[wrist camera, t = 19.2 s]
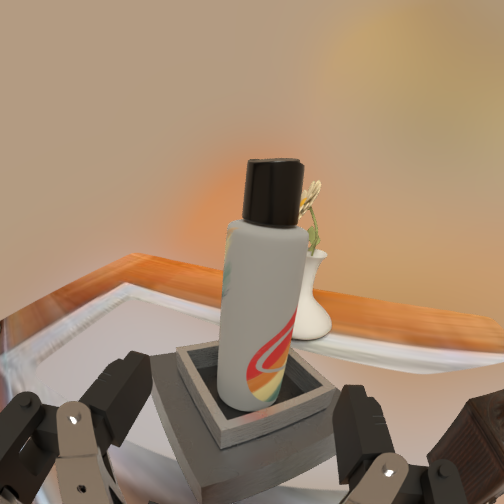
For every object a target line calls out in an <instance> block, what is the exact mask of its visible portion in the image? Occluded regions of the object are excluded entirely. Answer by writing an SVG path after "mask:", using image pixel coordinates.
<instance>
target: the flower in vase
mask: <svg viewBox="0 0 504 504" xmlns="http://www.w3.org/2000/svg"><path fill="white" fill-rule="evenodd" d="M319 182H320V180H318V181H317V182H316V183H315V181H313V182H312V184H311V186H310V187H309V189H308V192H307V191H306V190H304V191H303V193H302V195H301V202H300V210H299V218H298V220H299V219H300V218H301V217H302V216H303V215H304V214H305V212H306V211H307V210H309V209H310V212H311V214H312V218H313V221H314V225H315V230H316V232H315V230H314V228H313V226H311V228H309V229H308V231H307V232H308V234H309V241H310V242H311V244H312V245H311V247H310V248H308V250H307V256H306V263H305V269H304V275H303V280H302V286H301V292H300V297H299V302H298V308H297V313H296V318H295V323H294V328H293V333H292V338H294V339H301V340H312V339H317V338H320V337H322V336H324V335H326V334H327V333H328V332H329V331H330V330H331V328H332V323H331V318H330V316H329V315H328V313H327V312H326V311H325V309H324V308H323V307H322V306H321V305H320V304H319V303H318V302H317V301H316V300H315V299H314V297H313V294H312V289H313V283H314V279H315V275H316V272H317V269H318V267H319V265H320V263H321V262H322V261H323V260H324V259H325V258H326V257H327V253H325V252H324V251H321V250H318V249H315V246H316V245H317V244H319V243H320V238H319V236H318V228H317V223H316V219H315V216H314V213H313V210H312V207H311V205H312V204H313V202H314V200H315V199H316V197H317V195H318V194H319V192H320V188H321V183H319ZM314 184H315V185H314Z"/></svg>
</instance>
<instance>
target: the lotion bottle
mask: <svg viewBox="0 0 504 504" xmlns="http://www.w3.org/2000/svg"><path fill="white" fill-rule="evenodd" d="M303 176H304V165H303V164H301V163H300V160H299V159H292V158H275V159H261V160H260V159H250V160H248V164H247V173H246V182H245V193H244V202H243V213H242V217H243V219H241V220H236V221H233V222H231V223H230V224H229V225H228V228H227V237H226V247H225V260H224V273H223V287H222V301H221V317H220V333H219V351H218V371H217V390H218V394H219V396H220V398H221V399H222V400H223V401H224V402H225V403H226V404H227V405H229V406H230V407H232V408H235V409H237V410H241V411H248V412H253V411H259V410H262V409H265V408H268V407H269V406H271V405H272V404H273V403H274V402H275V401H276V399H277V397H278V394H279V391H280V388H281V384H282V379H283V375H284V371H285V366H286V362H287V357H288V352H289V348H290V343H291V338H292V333H293V328H294V323H295V318H296V313H297V308H298V302H299V297H300V292H301V286H302V280H303V275H304V269H305V263H306V256H307V250H308V241H309V234H308V232H307V231H306V230H304V229H303V228H301V227H298V226H296V225H297V223H298V218H299V210H300V202H301V194H302V185H303Z"/></svg>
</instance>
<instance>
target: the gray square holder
mask: <svg viewBox="0 0 504 504" xmlns="http://www.w3.org/2000/svg"><path fill="white" fill-rule="evenodd" d="M218 351H219V340H218V341H213V342H207V343H202V344H196V345H189V346H183V347H176V352H175V353H168V354H161V355H154V356H149V357H150V364H151V372H152V379H153V387H152V391H151V395H152V398H153V401H154V404H155V406H156V409H157V412H158V415H159V417H160V420H161V423H162V425H163V428H164V430H165V433H166V435H167V438H168V440H169V443H170V445H171V447H172V450H173V452H174V454H175V456H176V459H177V461H178V463H179V465H180V468H181V470H182V472H183V474H184V476H185V478H186V480H187V482H188V484H189V486H190V488H191V490H192V492H193V494H194V496H195V498H196V500H197V501H198V503H199V504H231V503H234V502H237V501H239V500H242V499H245V498H248V497H250V496H253V495H255V494H258V493H260V492H263V491H265V490H268V489H270V488H272V487H275V486H277V485H279V484H281V483H284V482H286V481H288V480H290V479H292V478H294V477H296V476H298V475H300V474H302V473H304V472H306V471H308V470H310V469H312V468H313V467H315V466H317V465H319V464H321V463H322V462H324V461H326V460H328V459H330V458H331V457H333V456H335V455H336V448H335V440H334V432H333V424H332V416H333V411H334V408H335V406H336V403H337V401H338V399H339V396H340V394H341V391H340V390H338V389H337V388H336V387H335V386H334V385H332V384H331V383H330V382H329V381H328V380H327V379H326V378H325V377H323V376H322V375H321V374H320V373H319V372H318V371H317V370H315V369H314V368H313V367H312V366H311V365H310V364H309V363H307V362H306V361H305V360H304V359H303V358H302V357H301V356H299V354H297V353H296V352H295V351H294V350H293V349H292V348H291V347H290V348H289V352H288V357H287V362H286V366H285V371H284V375H283V379H282V384H281V388H280V391H279V394H278V397H277V399H276V401H275V402H274V403H273V404H272V405H271V406H269V407H268V408H265V409H262V410H259V411H253V412H248V411H241V410H237V409H235V408H232V407H230V406H229V405H227V404H226V403H225V402H224V401H223V400H222V399H221V398H220V396H219V394H218V390H217V371H218Z"/></svg>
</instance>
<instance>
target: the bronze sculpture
mask: <svg viewBox="0 0 504 504" xmlns="http://www.w3.org/2000/svg"><path fill="white" fill-rule="evenodd" d="M427 459H428V463H429V466H430V465H431V464H432V463H433V462H434V461H436V460H438V459H447V460H449V461H451V462H453V463H454V464H455V465H456V467H457V469H458V472H459V475H460V478H461V482H462V485H463V488H464V491H465V495H466V498H467V502H468V504H493V503H495V502H496V499H497V498H498V497H499V496H501V495H502V494H504V389H503V390H500V391H497V392H494V393H490V394H487V395H483V396H479V397H476V398H472V399H469V400H468V401H467V402H466V404H465V405H464V407H463V409H462V410H461V412H460V413H459V415H458V416H457V418H456V419H455V420H454V422H453V423H452V425H451V426H450V427H449V428H448V430H447V431H446V433H445V434H444V435H443V436H442V438H441V439H440V440H439V442H438V443H437V444H436V445H435V447H434V448H433V449H432V450H431V451H430V452H429V453H428V454H427Z"/></svg>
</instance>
